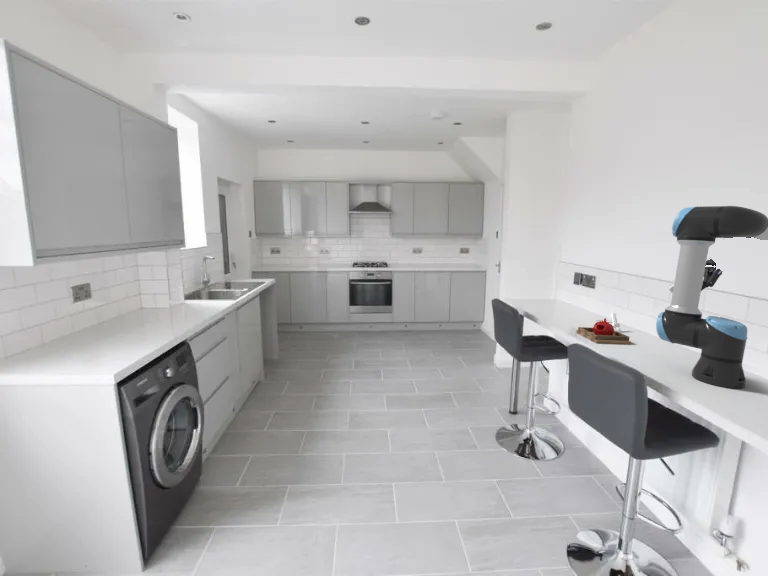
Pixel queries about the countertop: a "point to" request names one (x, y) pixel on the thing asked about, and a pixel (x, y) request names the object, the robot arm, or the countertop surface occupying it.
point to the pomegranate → (603, 328)
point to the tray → (603, 336)
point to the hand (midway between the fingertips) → (679, 293)
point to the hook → (615, 323)
